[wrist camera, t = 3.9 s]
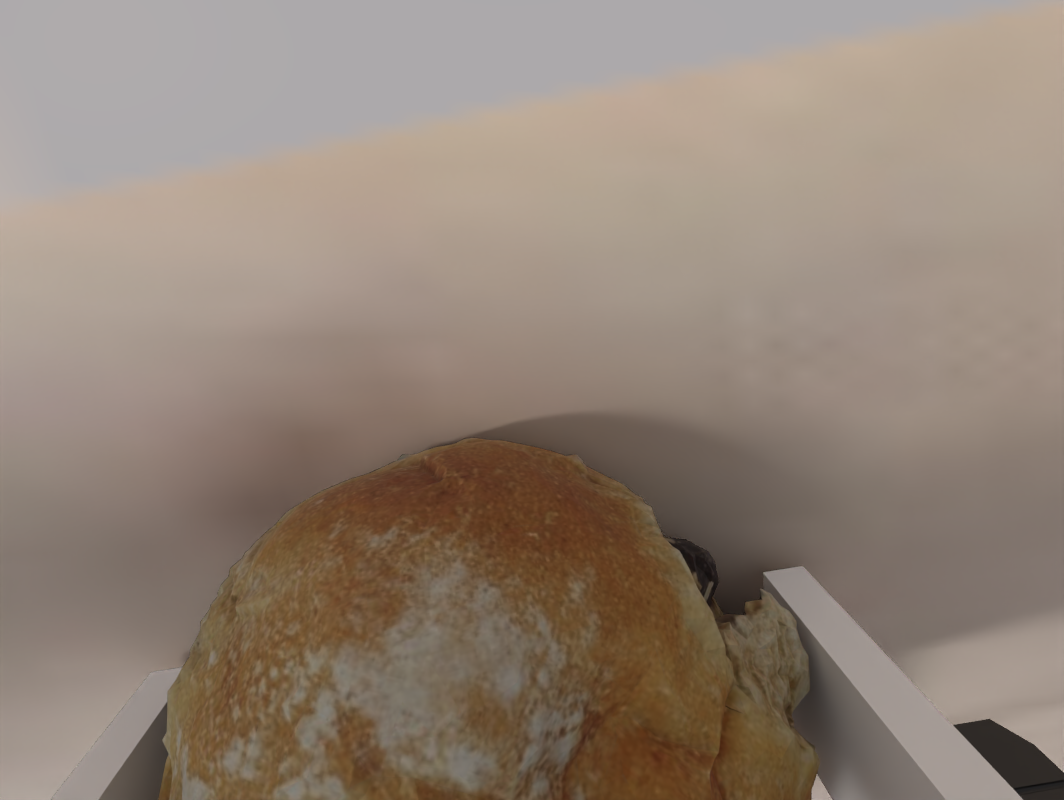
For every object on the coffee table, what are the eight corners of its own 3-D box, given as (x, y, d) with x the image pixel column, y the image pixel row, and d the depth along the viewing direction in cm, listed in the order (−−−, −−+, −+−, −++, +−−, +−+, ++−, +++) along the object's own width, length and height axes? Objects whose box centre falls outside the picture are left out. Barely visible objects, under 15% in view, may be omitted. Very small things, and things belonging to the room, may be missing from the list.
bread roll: (362, 369, 14) (-79, 474, 7) (867, 460, 11) (1012, 850, 4) (353, 741, 17) (14, 1105, 9) (765, 915, 13) (731, 1709, 6)
